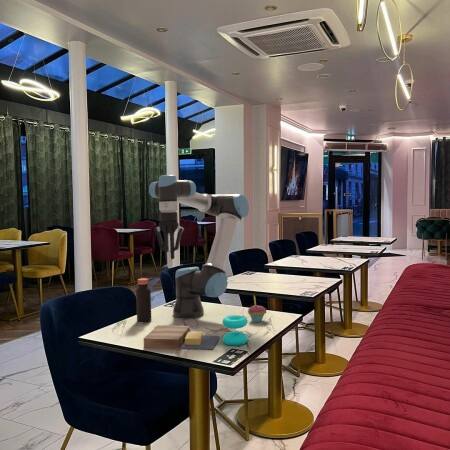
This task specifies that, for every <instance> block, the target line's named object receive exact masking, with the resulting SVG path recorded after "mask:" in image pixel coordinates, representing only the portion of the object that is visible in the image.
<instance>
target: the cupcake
mask: <svg viewBox="0 0 450 450" xmlns="http://www.w3.org/2000/svg"><path fill="white" fill-rule="evenodd" d="M253 301H254V302H253V303H254V305H252V306H250V307H249V308H248V310H247V313H248V315H249V316H250V320H251V322H253V323H260V322H263V318H264V316H265V315H266V314H267V308H265V307H264V306H263V305H257V302H256V296H255V295H253Z"/></svg>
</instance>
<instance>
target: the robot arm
mask: <svg viewBox="0 0 450 450" xmlns="http://www.w3.org/2000/svg"><path fill="white" fill-rule="evenodd" d="M148 193H149V195H150V196H151V198H154V199H158V200H159V201H158V205H159V206H158V208H159V223H158V226H157V227H154V228H153V231H154V233H155V234H156V238H157V241H158V246H159V250H161V251H163V252H164V258H165V260H166V265H167V268H172V267H173V266H174V265H173V260H174V259H175V252H176V251H177V250H179V248H180V244H181V239H182V235H183V232H184V230H185V228H184V227H183V226H180V224H179V223H178V212H177V211H178V204H181V205H183V206H188V207H192V208H195V209H197V210H198V211H199V212H201V213H204V214H206V215H207V214H208V215H209V216H214V217H218V218H219V222H218V226H217V229H216V232H215V235H214V236H215V237H214V239H213V242H212V244H211V247H210V248H211V249H210V252H209V255H208V258H207V261H206V263H205V264H202V267H201V270H200V267H198V266H192V267H191V266H190V267H183V268H179V269H177V270H176V271H175V278H174V279H175V298H176V299H175V302H174V306H173V310H172V315H173V316H174V317H175V318H179V319H180V318H183V319H187V318H188V319H191V318H192V319H193V318H198V317H202V316H203V315H204V313H205V311H204V307H203V304H202V301H201V296H205V297H209V298H219V297H221V296H222V295H223V294H224V293H225V292H226V291H227V288H228V279H229V278H228V276H227V275H226V270H225V265H226V262H227V258H228V255H229V252H230V249H231V246H232V242H233V238H234V235H235V231H236V228H237V225H239V224H241V222H242V219H243V218H245V217H247V216H249V213H250V203H249V201H248V199H247V197H246V196H245V195H244V194H241V193H239V194H238V193H232V194H230V193H229V194H228V193H227V194H222V193H219V194H210V193H209V194H208V193H199V192H197V186H196V184H195V182H194V181H192V180H188V179H184V180H183V179H182V180H181V179H179V180H178V179H177V176H176V175H175V174H163V175H159V176H158V180H157V181H153V182H151V183H150V185H149V188H148ZM161 231H162V233H163V236H162V233H161ZM176 231H177V234H176V238H175V232H176ZM162 237H163V238H162Z"/></svg>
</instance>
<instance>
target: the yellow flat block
mask: <svg viewBox="0 0 450 450" xmlns="http://www.w3.org/2000/svg"><path fill="white" fill-rule="evenodd" d="M203 335H204V332H203V331H190V332H188V334H187V335H186V337H185V345H200V344H201V342H202V339H203Z"/></svg>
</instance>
